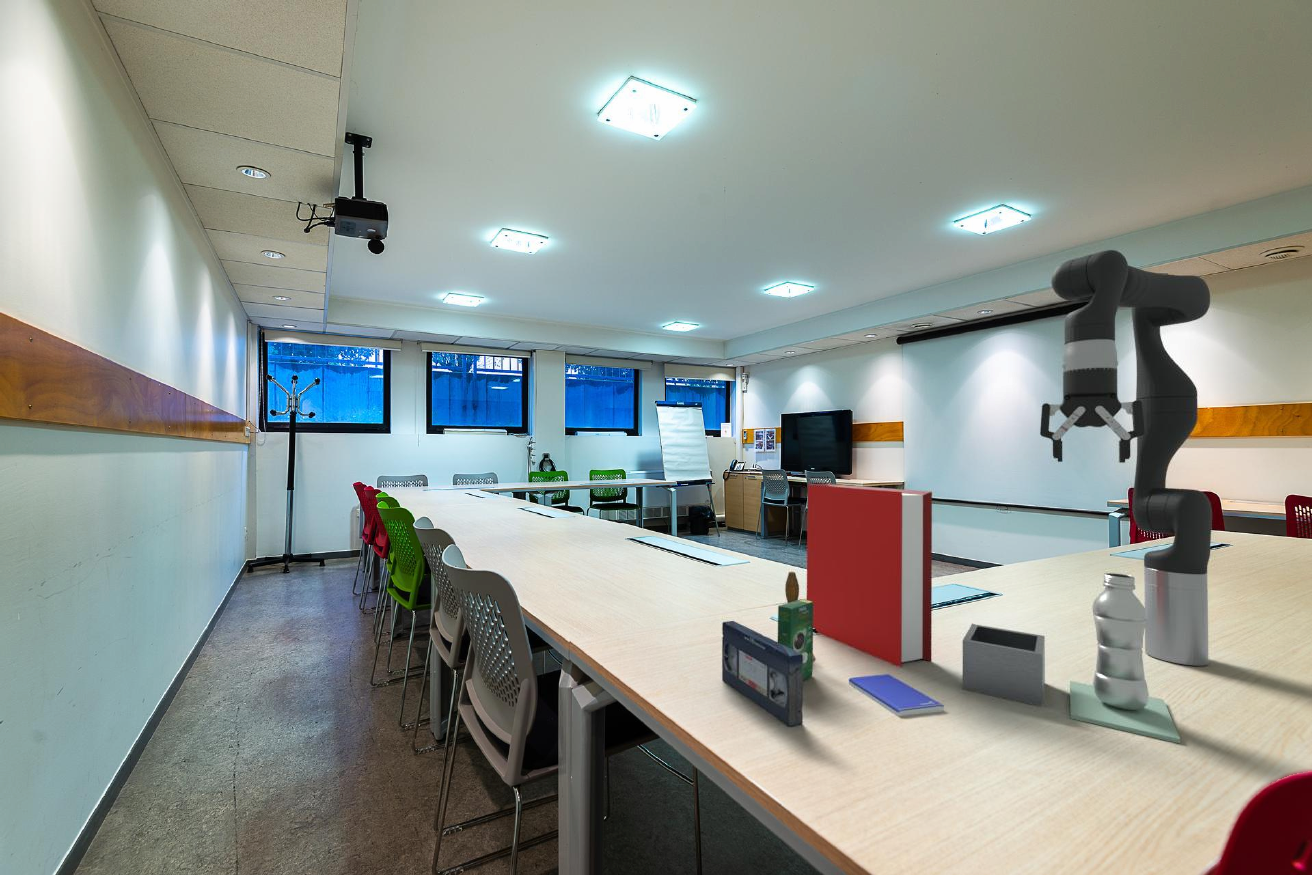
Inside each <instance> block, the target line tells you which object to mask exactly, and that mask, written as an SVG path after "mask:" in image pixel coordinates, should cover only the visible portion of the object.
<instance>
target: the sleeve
mask: <svg viewBox="0 0 1312 875" xmlns="http://www.w3.org/2000/svg"><path fill="white" fill-rule="evenodd" d="M1045 641H1046V639H1045V635H1042V634H1035V633H1029V632H1024V631H1017V630H1010V629H1007V628H1005V629H1004V628H1000V627H995V626H994V627H993V626H987V625H981V624H974V623H971V625H970V626H969V628H968V630H967V632H966V634H965V636H964V637H963V639H962V690H966V691H970V692H975V693H978V694H983V695H988V696H992V697H997V698H1000V699H1006V700H1010V701H1013V702H1018V703H1024V704H1027V705H1032V706H1036V707H1040V708H1044V697H1045V696H1044V695H1045V685H1046V680H1045V679H1046V674H1045V673H1046V666H1045V665H1046V664H1045V662H1046V660H1045V659H1046V658H1045V657H1046V654H1045V653H1046V650H1045V649H1046V646H1045V645H1046V642H1045Z"/></svg>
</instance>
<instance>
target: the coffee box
mask: <svg viewBox="0 0 1312 875" xmlns="http://www.w3.org/2000/svg"><path fill="white" fill-rule="evenodd" d="M777 607H778V608H777V642H778V643H780V644H782V645H784V646H786V647H788V648H790V649H792V650H794V651H796V652H797V653H800V654H802V655H803V667H802V670H803V681H805V680H808V679H809V678H810V677H813V669H814V668H813V667H814V666H813V665H814V664H813V662H814V660H813V654H814V652H813V651H814V631H813V601H809V600H807V599H800V598H799V599H798V600H796V601H793V602H790V603H788V602H787V603H784V604H783V603H782V604H780V605H778V606H777Z"/></svg>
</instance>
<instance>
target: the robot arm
mask: <svg viewBox="0 0 1312 875" xmlns="http://www.w3.org/2000/svg"><path fill="white" fill-rule="evenodd" d="M1050 283H1051V287H1052V290H1053V291H1054V293H1055V294H1056V295H1057V296H1059V298H1061V299H1063V300H1065V301H1069V302H1078V303H1079V302H1080V303H1081V302H1082V303H1084V302H1085V303H1087V304H1086V305H1084V306H1082V307H1079V308H1078V309H1076V310H1073V311H1072V312H1069V313H1068V314H1067V315H1065V318H1064V347H1063V349H1064V350H1063V355H1062V365H1061V367H1062V397H1063V398H1062V402H1061V403H1060V404H1054V403H1053V404H1051V403H1047V402H1046V403H1043V404H1042V405H1041V414H1040V416H1041V418H1040V429H1039V430H1040V431H1039V432H1040V433H1039V434H1040V436H1041V437H1042V438H1046V439H1049V440H1051V442H1052V457H1053V458H1054V459H1057V462H1058V463H1060V462H1061V463H1062V462H1063V440H1062V438H1063V436H1065V434H1066V433H1067V432H1068V431H1069V430H1071V428H1072V427H1073V426H1074V427H1077V428H1087V427H1092V428H1102V427H1105V426H1107V427H1108V428H1109V429H1110V430H1111V431H1112V432H1113V433H1114V434H1116V436H1117V437H1119V439H1120V440H1118V463H1126V460H1130V458H1131V440H1133V439H1135V438H1136V464H1135V473H1134V476H1135V477H1134V485H1133V494H1132V516H1133V519H1134V522H1135V524H1136V526H1137V527H1138V528H1139V529H1140V530H1142V531H1144V532H1149V533H1155V534H1160V535H1163V534H1164V535H1170V536H1174V538H1173V542H1172V544H1171V545H1170V546H1168V547H1165V548H1162V549H1158V550H1150V551H1147V552H1146V553H1145V554H1144V556H1143V568H1144V569H1143V570H1144V571H1143V573H1144V575H1143V576H1144V577H1143V578H1144V580H1143V581H1144V608H1145V611H1146V613H1147V615H1146V620H1145V621H1146V624H1145V630H1144V652H1145V653H1146V655H1148V656H1150V657H1153V658H1156V659H1159V660H1162V661H1164V662H1169V663H1173V664H1174V663H1175V664H1181V665H1188V666H1197V667H1199V666H1200V667H1201V666H1206V665H1209V603H1208V602H1209V599H1208V598H1209V597H1208V595H1209V594H1208V591H1209V590H1208V565H1209V560H1210V557H1211V542H1212V540H1211V539H1212V523H1213V510H1212V504H1211V501H1210V499H1209V497H1208V496H1207V494H1205V493H1204V492H1203V491H1201V490H1198V489H1191V488H1189V489H1188V488H1175V487H1173V488H1170V487H1166V484H1167V483H1166V481H1167V472H1168V469H1169V466H1170V464H1171V461H1172V460H1173V458H1174V456H1175V455H1176V453H1177V452H1178V451H1179V449H1180V448H1181V447H1182V446H1183V445H1184V443H1185V442H1186V441H1187V439H1188V438H1189V436H1190V435H1191V434H1192V432H1193V431H1194V429H1195V428H1196V426H1197V424H1198V416H1199V415H1198V412H1199V411H1198V409H1199V408H1198V388H1197V387H1196V385H1195V383H1194V381H1193V380H1192V379H1191V378H1190V377H1189V375H1188V374H1187V372H1185V371H1184V370H1183V369H1182V367H1180V366H1179V365H1178V363H1176V362H1175V360H1174V359H1173V358H1172V357H1171V356H1170V354H1169V353H1168V351H1167V350H1166V348H1165V346H1164V344H1163V340H1162V336H1161V327H1166V326H1171V325H1172V326H1173V325H1179V324H1185V323H1186V324H1187V323H1190V322H1193V321H1196V320H1200V319H1201V318H1203V317H1205V315H1206V314H1207V312H1208V311H1209V309H1210V305H1211V294H1210V292H1211V291H1210V289H1209V286H1208V284H1207V283H1206V281H1205V280H1204V279H1203V278H1201V277H1200V276H1197V275H1194V274H1193V275H1191V274H1190V275H1178V274H1176V275H1175V274H1169V273H1168V274H1167V273H1166V274H1165V273H1159V272H1153V271H1147V270H1143V269H1141V268H1137V267H1136V266H1131V265H1129V263H1128V261H1127V258H1126V257H1125V256H1124V254H1123V253H1121V252H1120V251H1118V250H1115V249H1107V250H1102V251H1099V252H1095V253H1092V254H1091V253H1090V254H1087V255H1084V256H1081V257H1076V258H1073V259H1069V260H1067V261H1064V262H1062V263H1061V264H1059V265H1058V266H1057V267H1055V270H1054V271H1053V273H1052V276H1051V282H1050ZM1119 307H1123V308H1124V307H1125V308H1131V321H1132V330H1133V337H1134V346H1135V348H1134V349H1135V359H1136V360H1135V361H1136V386H1135V387H1136V389H1135V390H1136V391H1135V400H1134V401H1127V402H1124V401H1123V402H1120V400H1119V397H1118V365H1119V361H1118V351H1117V345H1116V316H1117V315H1116V314H1117V311H1118V308H1119ZM1121 409H1123V410H1124V411H1125V413H1126V414H1127V415H1131V417H1132V429H1133V430H1130V431H1127V430H1126V429H1125V428H1124V427H1123V426H1122V425H1121V424H1120V423H1119V422H1118V421H1117V420H1116V419H1115V416H1116V415H1117V414H1118V413H1119V411H1121ZM1058 411H1060V412H1061V413H1062V415H1064V416H1065V418H1066V420H1065V421H1063V423H1062V425H1061V426H1060V427H1059V428H1058V429H1057V430H1056V431H1055V432H1053V431H1050V420H1051V419H1050V418H1051V417H1054V416H1055V415H1056V413H1057V412H1058Z"/></svg>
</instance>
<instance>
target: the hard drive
mask: <svg viewBox="0 0 1312 875" xmlns="http://www.w3.org/2000/svg"><path fill="white" fill-rule="evenodd" d="M848 685H850V686H852V688H854V689H856V690H858V691H859V692H861V693H862V694H863V695H865V696H867V697H868V698H870V699H871V700H872V701H874V702H876V703H877V704H879V705H880V706H881V707H883V708H884V709H886V710H888V711H889V712H891V713H893V714H895V716H897V717H905V716H913V715H920V714H921V715H922V714H930V713H937V712H944V711H945V707H944V706H945V705H944V704H942V703H940V702H938V701H937V700H935V699H933V698H932V697H930V696H928V695H926V694H925V693H923V692H921V691H919V690H918V689H915V688H914V687H912V686H910V685H908V684H906V683H905V682H903V681H902V680H900V679H899V678H896V677H894V676H892V675H890V674H888V673H887V674H875V675H866V676H865V675H864V676H856V677H849V679H848Z"/></svg>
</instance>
